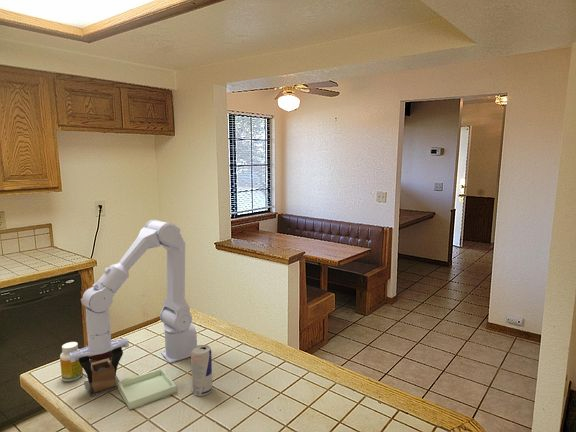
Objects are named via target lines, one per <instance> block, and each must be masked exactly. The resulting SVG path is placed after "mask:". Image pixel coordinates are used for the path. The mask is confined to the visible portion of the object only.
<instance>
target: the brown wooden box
mask: <svg viewBox="0 0 576 432" xmlns="http://www.w3.org/2000/svg"><path fill="white" fill-rule="evenodd" d="M100 368H106V369H102V370H99V371H97V370H98V369H100ZM91 375H92V383H91V386H92V388H93V390H94V392H97V391H101V390H104V389H107V388H110V387H113V386H116V378H115V368H114V366H113V365H112V363H111V358H107V359H104V360H100V361H93V362H91Z"/></svg>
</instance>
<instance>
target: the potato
mask: <svg viewBox="0 0 576 432" xmlns="http://www.w3.org/2000/svg"><path fill="white" fill-rule="evenodd" d="M89 358H90V361H93V362H97V361H100V360H104V359H107V358H109V359H111V355H110V351H108V352H106V353H103V354H98V355H93V356H90V357H89Z"/></svg>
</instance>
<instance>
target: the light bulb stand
mask: <svg viewBox="0 0 576 432" xmlns="http://www.w3.org/2000/svg"><path fill="white" fill-rule="evenodd" d="M102 369H106V368H100V369H98V370H97V371H99V370H102ZM115 378H116V386H113V387H110V388H107V389H104V390H101V391H97V392H94V390H93V388H92V386H91V383H89V381H88V380H85V381H83V384H84V388H85V389H86V391H87V394H88V396H89V398H93V397H96V396H99V395H101V394H105V393H107V392H111V391H113V390H118V382H120V379H119V377H118V376H117V375H116V376H115Z"/></svg>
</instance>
